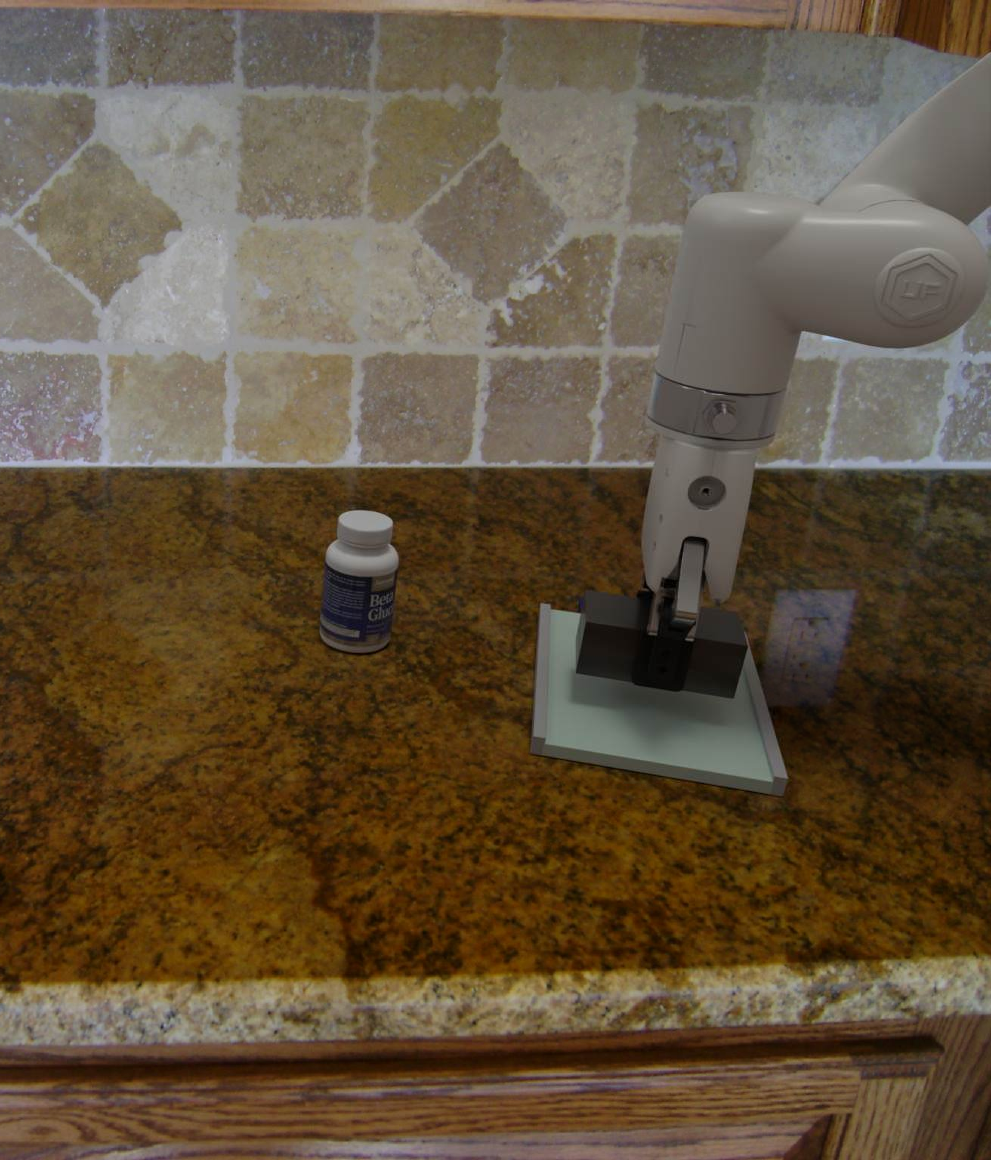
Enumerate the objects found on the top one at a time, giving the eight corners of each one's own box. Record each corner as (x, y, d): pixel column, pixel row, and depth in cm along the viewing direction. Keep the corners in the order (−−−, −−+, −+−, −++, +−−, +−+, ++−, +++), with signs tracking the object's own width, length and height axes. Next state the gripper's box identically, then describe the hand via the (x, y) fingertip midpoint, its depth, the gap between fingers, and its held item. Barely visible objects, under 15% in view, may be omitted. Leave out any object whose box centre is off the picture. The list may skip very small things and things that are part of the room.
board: (741, 647, 89) (745, 631, 89) (783, 797, 72) (788, 778, 71) (537, 618, 93) (540, 602, 92) (530, 753, 75) (533, 735, 75)
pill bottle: (374, 662, 85) (386, 540, 81) (307, 643, 88) (316, 524, 83) (400, 632, 90) (413, 515, 85) (336, 615, 92) (346, 500, 88)
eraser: (725, 663, 80) (738, 611, 78) (734, 699, 76) (748, 645, 74) (575, 640, 82) (585, 589, 81) (575, 674, 78) (585, 621, 76)
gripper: (803, 459, 63) (726, 742, 71) (758, 377, 78) (699, 619, 86) (657, 442, 64) (598, 720, 72) (641, 365, 79) (593, 603, 87)
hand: (654, 663), depth 79 cm, fingers closed on eraser, 5 cm apart
